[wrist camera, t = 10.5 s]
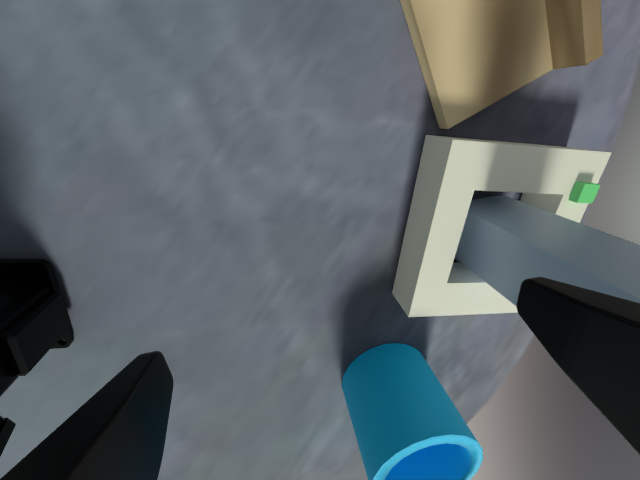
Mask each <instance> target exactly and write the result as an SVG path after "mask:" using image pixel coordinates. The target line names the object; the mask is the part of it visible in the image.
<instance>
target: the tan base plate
mask: <svg viewBox="0 0 640 480" xmlns="http://www.w3.org/2000/svg"><path fill="white" fill-rule="evenodd" d="M400 2H401V5H402V8H403V11H404V15H405V18H406V21H407V24H408V28H409V31H410V34H411V38H412V41H413V44H414V47H415V51H416V54H417V57H418V60H419V64H420V67H421V70H422V73H423V77H424V80H425V83H426V86H427V90H428V93H429V96H430V99H431V103H432V106H433V109H434V113H435V116H436V119H437V122H438V126H439V128H442V129H449V128H451V127H453V126H455V125H456V124H458V123H460V122H462V121H463V120H465V119H467V118H469V117H470V116H472V115H474V114H476V113H477V112H479V111H481V110H483V109H484V108H486V107H488V106H490V105H491V104H493V103H495V102H497V101H498V100H500V99H502V98H504V97H505V96H507V95H509V94H511V93H512V92H514V91H516V90H518V89H519V88H521V87H523V86H525V85H526V84H528V83H530V82H531V81H533V80H535V79H537V78H538V77H540V76H542V75H544V74H545V73H547V72H549V71H551V70H552V69H559V68H566V67H574V66H581V65H587V64H588V63H590V62H592V61H594V60H595V59H597V58H599V57H601V56H602V55H603V44H602V22H601V0H400Z"/></svg>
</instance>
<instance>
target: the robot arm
mask: <svg viewBox="0 0 640 480" xmlns="http://www.w3.org/2000/svg"><path fill="white" fill-rule="evenodd" d="M38 266H39V267H41V268H42V269H43V270H40V269H39V268H38ZM516 307H517V311H518V313H519V315H520V316H521V318H522V319H523V320H524V321H525V323H526V324H527V325H528V327H529V328H530V329H531V331H532V332H533V333H534V334H535V336H536V337H537V338H538V340H539V341H540V342H541V344H542V345H543V346H544V347H545V349H546V350H547V351H548V353H549V354H550V355H551V357H552V358H553V359H554V360H555V362H556V363H557V364H558V365H559V367H560V368H561V369H562V370H563V371H564V372H565V373H566V374H567V376H568V377H569V378H570V379H571V380H572V381H573V382H574V383H575V385H576V386H578V388H579V389H580V390H581V391H582V392H583V393H584V394H585V396H586V397H587V398H588V399H589V400H590V401H591V402H592V403H593V404H594V405H595V406H596V408H597V409H598V410H599V411H600V412H601V413H602V414H603V415H604V416H605V418H606V419H607V420H608V421H609V422H610V423H611V424H612V425H613V426H614V427H615V428H616V430H617V431H618V432H619V433H620V434H621V435H622V436H623V437H624V438H625V440H627V442H628V443H629V444H630V445H631V446H632V447H633V448H634V449H635V450H636V452H637V453H638V454H639V455H640V303H638V302H634V301H630V300H626V299H623V298H619V297H615V296H611V295H608V294H604V293H600V292H597V291H593V290H589V289H585V288H582V287H578V286H574V285H570V284H567V283H563V282H559V281H556V280H552V279H548V278H544V277H534V278H528V279H525V280H523V282H522V283H521V286H520V290H519V295H518V299H517V304H516ZM70 325H71V323H70V320H69V316H68V313H67V310H66V307H65V303H64V300H63V297H62V294H61V293H60V291H59V288H58V284H57V281H56V278H55V275H54V271H53V268H52V266H51V264H50V263H49V262H48V261H46V260H42V259H0V396H1V395H2V394H3V393H4V392H5V391H6V390H7V389H8V387H9V386H10V385H11V384H12V383H13V382H14V381H15V380H16V379H17V378H18V376H25V375H26V374H28V373H29V372H30V371H31V370H32V368H33V367H34V366H35V365H36V364H37V363H38V362H39V361H40V359H41V358H42V357H43V356H44V355H45V354H46V353H47V351H48V350H49V349H53V348H66V347H68V346H70V344H71V343H72V342H73V340H74V336H73V333H72V330H71V327H70ZM62 339H63V340H62ZM64 340H65V341H64ZM172 391H173V377H172V374H171V372H170V370H169V367H168V365H167V363H166V361H165V358H164V356H163V354H162V353H161V352H159V351H154V352H149V353H144V354H141V355H139V356H137V357H136V358H135V359H134V360H133V361H132V362H131V363H129V364H128V365H127V366H126V367H125V368H124V369H123V370H122V371H121V372H119V373H118V374H117V375H116V376H115V377H114V378H113V379H112V380H110V381H109V382H108V383H107V384H106V385H105V386H104V387H103V388H102V389H100V390H99V391H98V392H97V393H96V394H95V395H94V396H93V397H92V398H90V399H89V400H88V401H87V402H86V403H85V404H84V405H83V406H81V407H80V408H79V409H78V410H77V411H76V412H75V413H74V414H73V415H71V416H70V417H69V418H68V419H67V420H66V421H65V422H64V423H62V424H61V425H60V426H59V427H58V428H57V429H56V430H55V431H54V432H52V433H51V434H50V435H49V436H48V437H47V438H46V439H45V440H43V441H42V442H41V443H40V444H39V445H38V446H37V447H36V448H35V449H33V450H32V451H31V452H30V453H29V454H28V455H27V456H26V457H24V458H23V459H22V460H21V461H20V462H19V463H18V464H17V465H16V466H14V467H13V468H12V469H11V470H10V471H9V472H8V473H7V474H5V475H4V476H3V477H2V478H1V479H0V480H157V478H158V474H159V470H160V466H161V461H162V456H163V451H164V445H165V438H166V431H167V425H168V418H169V411H170V405H171V398H172ZM15 425H16V424H15V423H14V422H12V421H11V420H10V419H8V418H3V417H1V416H0V456H1V454H2V452H3V450H4V448H5V446H6V444H7V442H8V440H9V438H10V436H11V433H12V431H13V429H14V427H15Z"/></svg>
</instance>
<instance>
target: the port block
mask: <svg viewBox="0 0 640 480" xmlns="http://www.w3.org/2000/svg"><path fill="white" fill-rule="evenodd" d="M610 155H611V153H610V152H603V151H595V150H587V149H580V148H572V147H563V146H551V145H539V144H527V143H516V142H504V141H492V140H480V139H468V138H457V137H445V136H433V135H426V137H425V141H424V146H423V151H422V155H421V160H420V165H419V169H418V174H417V179H416V183H415V188H414V193H413V197H412V202H411V207H410V211H409V216H408V221H407V225H406V230H405V235H404V239H403V244H402V248H401V253H400V258H399V262H398V267H397V272H396V276H395V281H394V286H393V290H392V294H393V296H394V297H395V299H396V300H397V301H398V303H399V304H400V306H401V307H402V309H403V310H404V312H405V313H406V314H407V316H408V317H425V316H447V315H470V314H492V313H515V312H518V311H517V307H516V306H515V305H514V304H513V303H511V302H510V301H509V300H508V299H506V298H505V297H504V296H503V295H501V294H500V293H499V292H497V291H496V290H495V289H494V288H492V287H491V286H490V285H489V284H487V283H486V282H485V281H483V280H482V279H481V278H480V277H478V276H477V275H476V274H475V273H473V272H472V271H471V270H470V269H468V268H467V267H466V266H464V265H463V264H462V263H461V262H456V263H453V261H454V258H455V254H456V251H457V247H458V244H459V241H460V237H461V234H462V231H463V227H464V224H465V220H466V217H467V214H468V210H469V207H470V204H471V200H472V197H473V194H474V190H478V191H499V192H520V193H523V194H522V197H521V200H520V201H521V202H523V203H526V204H529V205H532V206H534V207H537V208H540V209H542V210H545V211H548V212H551V213H553V214H556V215H559V216H562V217H564V218H567V219H570V220H573V221H575V222H578V223H580V221H581V218H582V216H583V214H584V212H585V210H586V207H587V205H588V203H593V200H594V198H595V196H596V194H597V192H598V190H599V187H600V185H599V184H597V183H598V181H599V179H600V177H601V175H602V173H603V170H604V168H605V166H606V164H607V162H608V159H609V157H610Z"/></svg>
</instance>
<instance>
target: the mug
mask: <svg viewBox="0 0 640 480" xmlns="http://www.w3.org/2000/svg"><path fill="white" fill-rule="evenodd" d="M342 388H343V392H344V396H345V399H346V403H347V406H348V410H349V413H350V417H351V420H352V424H353V427H354V431H355V435H356V438H357V442H358V445H359V449H360V452H361V456H362V459H363V463H364V466H365V470H366V473H367V477H368V480H470V479H471V478H472V477H473V475H474V474H475V473H476V472H477V471H478V469H479V467H480V465H481V462H482V460H483V449H482V448H481V446H480V445H479V443H478V441H477V440H476V438H475V437H474V435H473V434H472V432H471V431H470V429H469V427H468V426H467V424H466V423H465V421H464V420H463V418H462V417H461V415H460V413H459V412H458V410H457V409H456V407H455V406H454V404H453V402H452V401H451V399H450V398H449V396H448V395H447V393H446V392H445V390H444V388H443V387H442V385H441V384H440V382H439V381H438V379H437V378H436V376H435V374H434V373H433V371H432V370H431V368H430V367H429V365H428V364H427V362H426V360H425V359H424V357H423V356H422V354H421V353H420V351H419V350H417V349H415V348H414V347H412V346H410V345H406V344H401V343H391V344H383V345H380V346H377V347H374V348H371V349H369V350H368V351H366V352H364V353H363V354H361V355H359V356H358V357H357V358H356V359H355V360H354V361H353V362H352V363H351V364H350V365H349V366H348V368H347V370H346V372H345V374H344V376H343V382H342Z"/></svg>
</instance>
